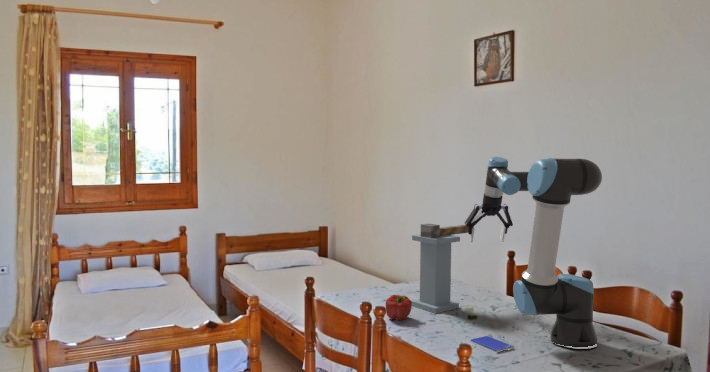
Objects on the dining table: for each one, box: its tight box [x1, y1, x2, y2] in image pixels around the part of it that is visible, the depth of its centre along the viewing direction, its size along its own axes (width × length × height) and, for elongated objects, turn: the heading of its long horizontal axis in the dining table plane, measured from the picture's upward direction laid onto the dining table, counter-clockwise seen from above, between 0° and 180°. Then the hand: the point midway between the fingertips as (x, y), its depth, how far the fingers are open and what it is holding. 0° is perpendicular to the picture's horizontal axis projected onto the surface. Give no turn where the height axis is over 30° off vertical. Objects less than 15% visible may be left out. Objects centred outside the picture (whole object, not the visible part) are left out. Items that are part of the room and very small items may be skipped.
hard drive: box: [470, 335, 515, 353], centre depth 195 cm, size 2×8×12 cm
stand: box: [411, 233, 461, 314], centre depth 240 cm, size 14×14×30 cm
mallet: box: [420, 223, 469, 238], centre depth 243 cm, size 25×6×5 cm, turn 127°
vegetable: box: [385, 294, 413, 321], centre depth 223 cm, size 11×10×10 cm
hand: (486, 240), depth 242 cm, fingers open, 13 cm apart
